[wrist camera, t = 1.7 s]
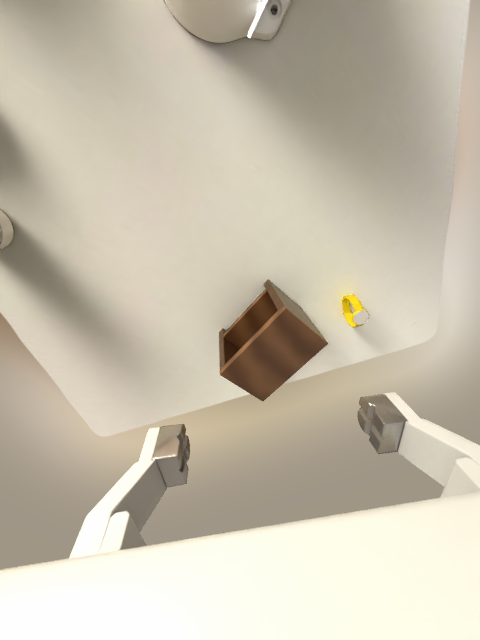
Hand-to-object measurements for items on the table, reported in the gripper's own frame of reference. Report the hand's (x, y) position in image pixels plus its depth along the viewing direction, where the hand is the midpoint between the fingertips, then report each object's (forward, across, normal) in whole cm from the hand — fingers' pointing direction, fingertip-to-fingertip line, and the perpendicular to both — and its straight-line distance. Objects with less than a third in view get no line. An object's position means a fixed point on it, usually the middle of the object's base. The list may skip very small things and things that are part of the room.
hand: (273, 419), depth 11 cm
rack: (+35, -4, +12) cm, 37 cm away
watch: (+35, -21, +12) cm, 43 cm away
